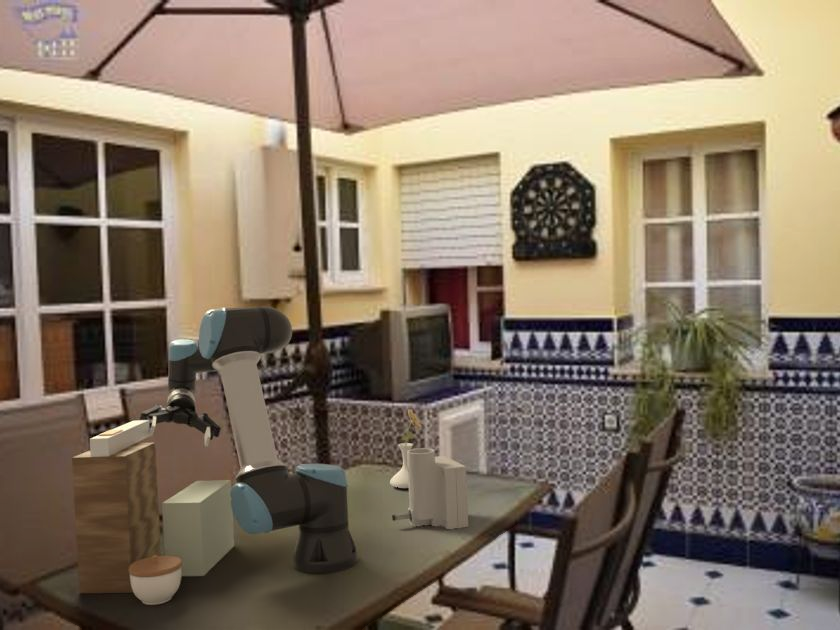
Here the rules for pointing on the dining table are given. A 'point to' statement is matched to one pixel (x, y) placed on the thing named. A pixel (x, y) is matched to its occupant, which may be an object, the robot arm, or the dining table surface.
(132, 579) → the lidded jar
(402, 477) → the flower in vase
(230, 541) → the upright ivory cuboid
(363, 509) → the dining table surface
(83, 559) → the walnut stand
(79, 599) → the dining table surface
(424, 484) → the white tube and box
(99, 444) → the white bar
